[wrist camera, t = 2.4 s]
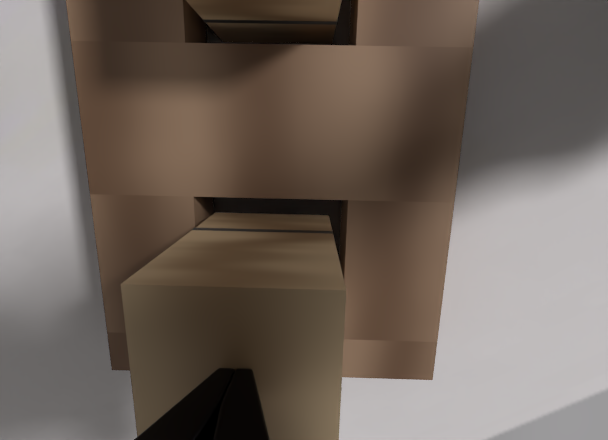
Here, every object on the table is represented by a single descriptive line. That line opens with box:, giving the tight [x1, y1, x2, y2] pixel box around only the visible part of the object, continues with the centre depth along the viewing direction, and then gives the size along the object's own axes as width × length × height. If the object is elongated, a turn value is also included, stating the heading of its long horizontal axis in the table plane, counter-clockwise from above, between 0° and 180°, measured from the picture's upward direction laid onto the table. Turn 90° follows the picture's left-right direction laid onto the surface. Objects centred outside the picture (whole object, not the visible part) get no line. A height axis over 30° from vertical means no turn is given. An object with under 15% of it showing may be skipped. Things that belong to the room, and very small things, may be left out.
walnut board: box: [66, 0, 479, 380], centre depth 13 cm, size 16×24×8 cm, turn 179°
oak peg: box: [121, 212, 346, 440], centre depth 12 cm, size 5×5×8 cm
